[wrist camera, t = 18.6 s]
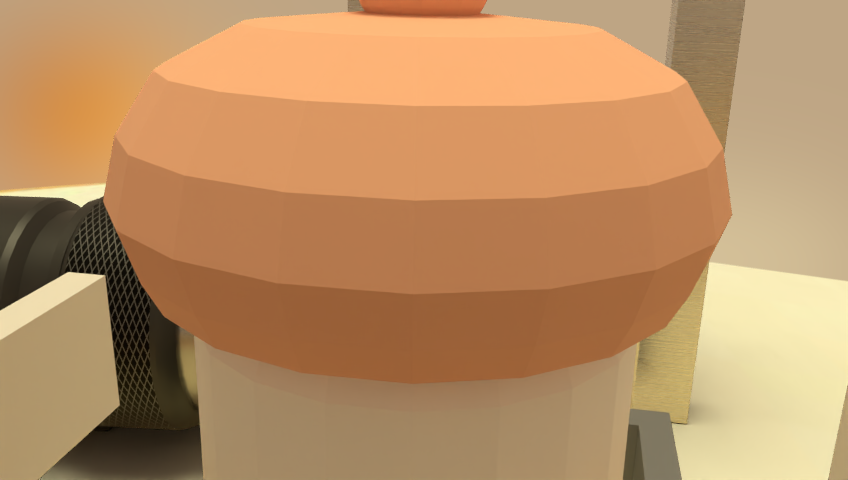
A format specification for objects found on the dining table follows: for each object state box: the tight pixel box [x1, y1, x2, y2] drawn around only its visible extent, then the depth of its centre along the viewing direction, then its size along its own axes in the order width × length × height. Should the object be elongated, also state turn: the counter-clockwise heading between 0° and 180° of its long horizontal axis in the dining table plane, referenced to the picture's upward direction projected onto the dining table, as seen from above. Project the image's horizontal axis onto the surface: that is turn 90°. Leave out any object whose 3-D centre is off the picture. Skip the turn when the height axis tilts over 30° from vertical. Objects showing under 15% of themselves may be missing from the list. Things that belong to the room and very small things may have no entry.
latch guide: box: [348, 0, 745, 424], centre depth 34 cm, size 2×15×29 cm, turn 79°
